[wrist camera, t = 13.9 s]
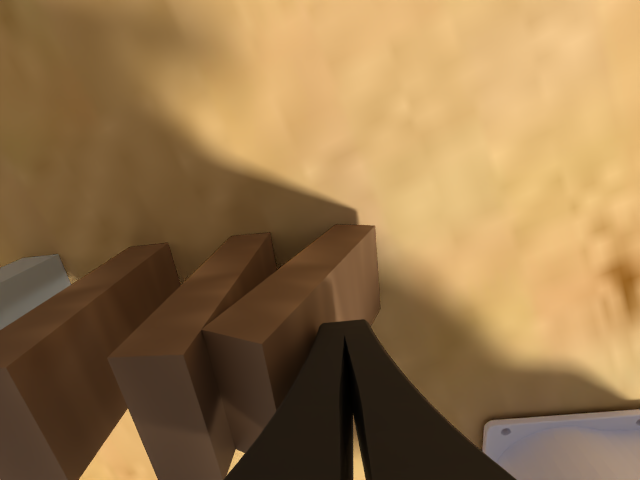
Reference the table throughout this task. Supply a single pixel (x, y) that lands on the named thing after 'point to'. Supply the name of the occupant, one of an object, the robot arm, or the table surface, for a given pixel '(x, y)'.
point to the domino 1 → (29, 285)
